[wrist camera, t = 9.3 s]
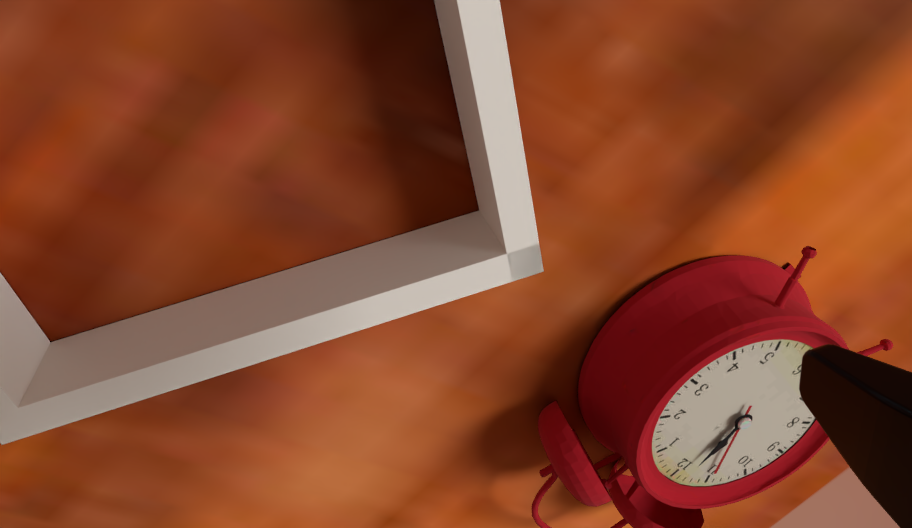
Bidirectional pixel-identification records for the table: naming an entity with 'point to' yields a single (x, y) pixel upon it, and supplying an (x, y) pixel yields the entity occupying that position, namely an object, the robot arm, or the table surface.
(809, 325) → the alarm clock
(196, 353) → the white u-shaped frame
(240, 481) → the table surface
